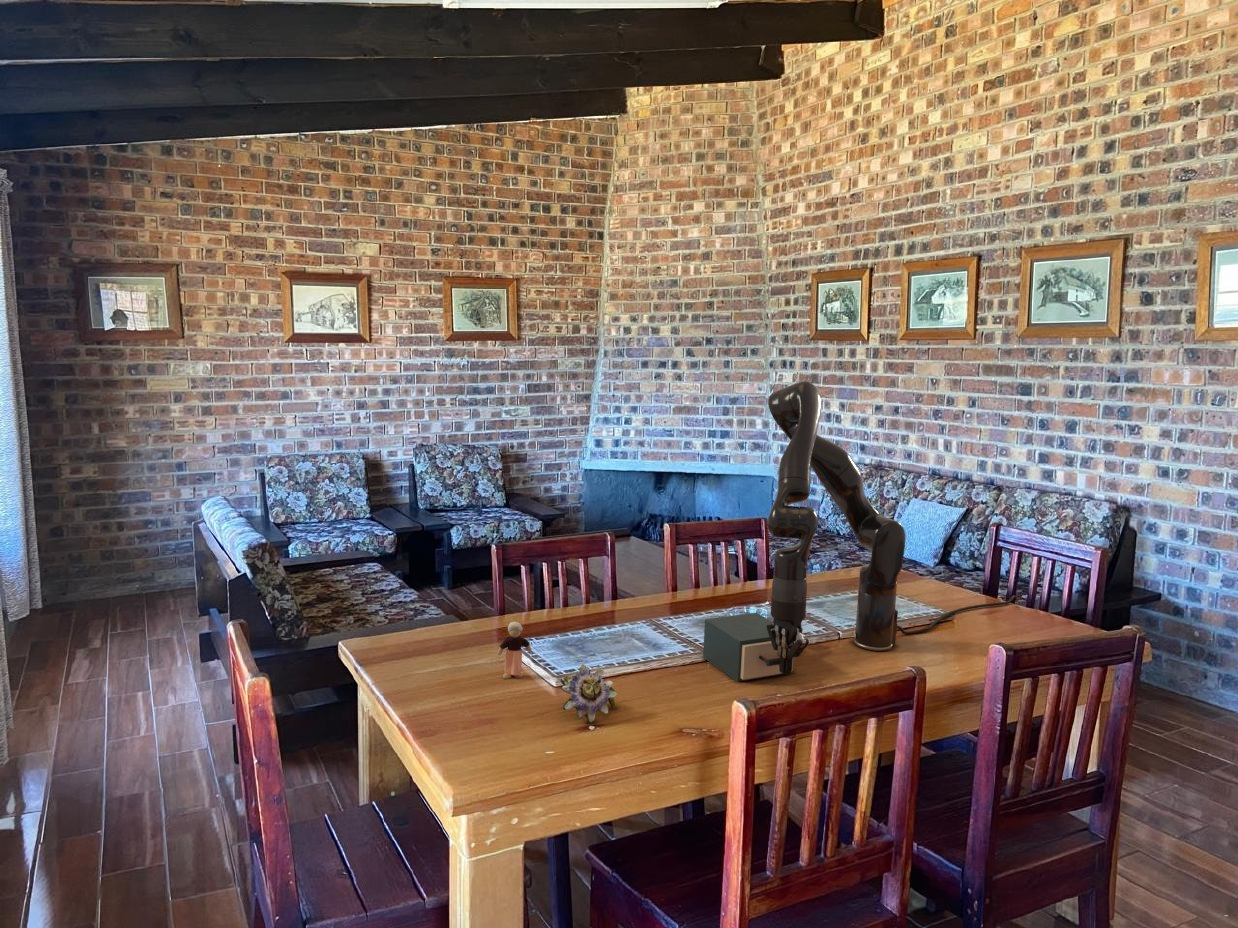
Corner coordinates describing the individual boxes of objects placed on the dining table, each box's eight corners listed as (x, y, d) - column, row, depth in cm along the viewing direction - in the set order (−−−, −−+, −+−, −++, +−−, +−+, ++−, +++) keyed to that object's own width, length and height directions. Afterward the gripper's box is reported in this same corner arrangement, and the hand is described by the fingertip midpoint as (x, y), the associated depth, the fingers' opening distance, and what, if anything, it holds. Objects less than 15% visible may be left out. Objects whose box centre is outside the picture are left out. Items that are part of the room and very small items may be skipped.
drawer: (803, 678, 198) (806, 645, 196) (753, 687, 192) (755, 653, 191) (757, 649, 215) (759, 619, 213) (710, 656, 209) (711, 625, 208)
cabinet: (791, 672, 203) (793, 633, 202) (737, 681, 197) (739, 641, 195) (754, 649, 217) (756, 612, 215) (702, 657, 211) (704, 619, 209)
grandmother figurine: (501, 681, 193) (501, 626, 191) (495, 675, 197) (496, 621, 195) (533, 676, 197) (534, 622, 195) (527, 669, 200) (528, 616, 198)
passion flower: (590, 745, 177) (564, 710, 170) (566, 715, 185) (541, 680, 179) (633, 709, 179) (610, 673, 173) (608, 681, 188) (585, 646, 181)
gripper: (822, 602, 186) (817, 680, 188) (785, 586, 198) (781, 660, 200) (793, 606, 183) (789, 685, 185) (757, 590, 195) (754, 664, 197)
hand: (785, 672), depth 193 cm, fingers closed
